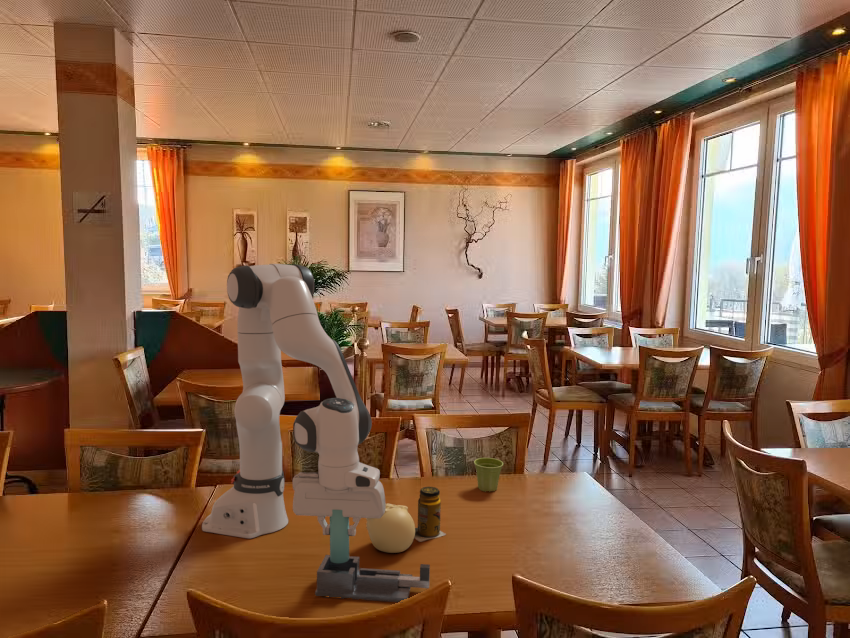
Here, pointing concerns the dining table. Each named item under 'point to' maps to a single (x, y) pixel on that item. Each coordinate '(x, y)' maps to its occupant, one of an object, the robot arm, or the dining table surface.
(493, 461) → the plant pot
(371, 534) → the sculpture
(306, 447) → the robot arm
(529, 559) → the dining table surface
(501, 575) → the dining table surface
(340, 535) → the peg
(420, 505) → the condiment
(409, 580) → the pin
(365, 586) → the mount
